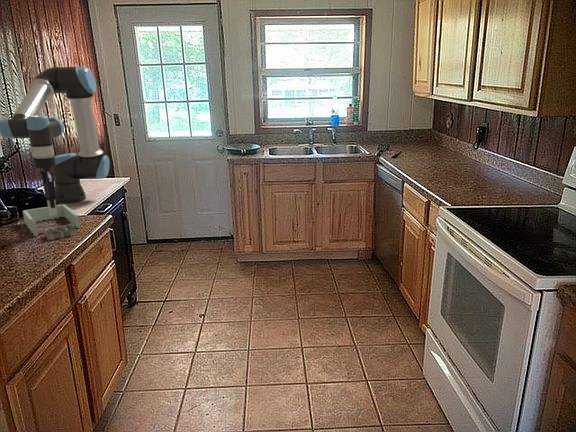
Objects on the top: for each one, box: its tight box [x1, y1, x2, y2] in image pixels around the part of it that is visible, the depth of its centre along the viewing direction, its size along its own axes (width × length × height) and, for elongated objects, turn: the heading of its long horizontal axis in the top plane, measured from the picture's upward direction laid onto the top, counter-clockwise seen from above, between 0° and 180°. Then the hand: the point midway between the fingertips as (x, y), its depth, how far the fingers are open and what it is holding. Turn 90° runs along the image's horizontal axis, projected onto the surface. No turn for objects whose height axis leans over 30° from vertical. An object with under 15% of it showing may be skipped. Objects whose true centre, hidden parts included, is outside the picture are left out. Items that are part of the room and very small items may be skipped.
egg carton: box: [43, 222, 77, 241], centre depth 173 cm, size 11×8×4 cm
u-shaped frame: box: [22, 203, 81, 237], centre depth 185 cm, size 23×16×6 cm
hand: (53, 214), depth 180 cm, fingers closed
